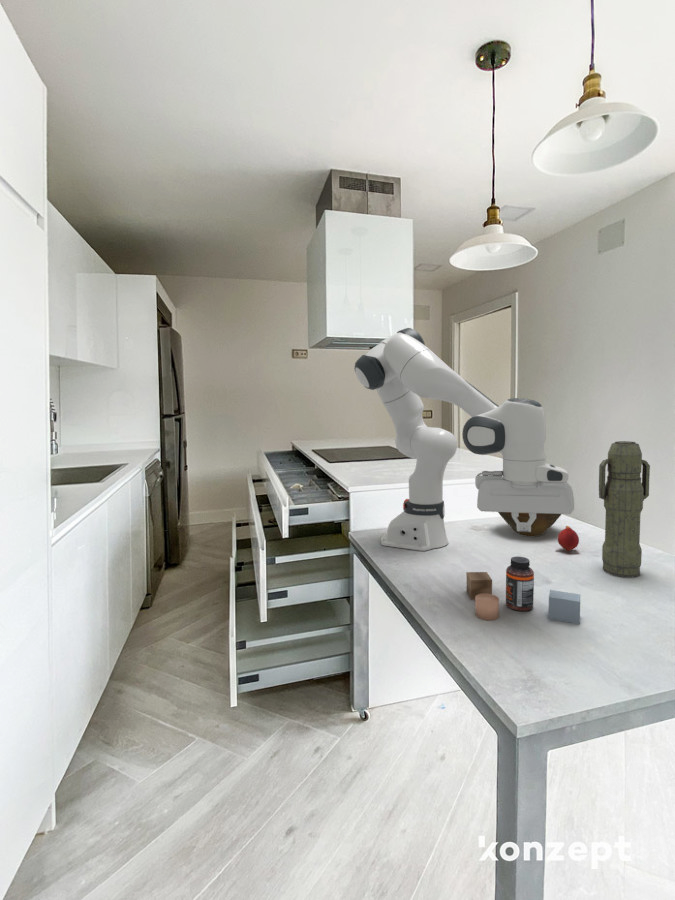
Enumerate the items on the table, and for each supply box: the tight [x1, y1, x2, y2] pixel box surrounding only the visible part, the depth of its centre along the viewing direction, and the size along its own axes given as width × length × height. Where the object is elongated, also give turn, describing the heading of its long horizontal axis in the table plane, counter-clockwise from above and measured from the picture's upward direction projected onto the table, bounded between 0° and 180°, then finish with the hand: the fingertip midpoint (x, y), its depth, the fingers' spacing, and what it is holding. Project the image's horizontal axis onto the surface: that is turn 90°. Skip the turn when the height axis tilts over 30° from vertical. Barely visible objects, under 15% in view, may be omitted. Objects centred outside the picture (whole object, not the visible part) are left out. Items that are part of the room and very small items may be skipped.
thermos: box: [598, 440, 651, 578], centre depth 120 cm, size 9×12×35 cm
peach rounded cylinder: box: [474, 593, 500, 621], centre depth 101 cm, size 5×5×4 cm
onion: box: [557, 525, 580, 552], centre depth 139 cm, size 6×6×8 cm
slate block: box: [548, 589, 581, 625], centre depth 99 cm, size 6×4×5 cm, turn 61°
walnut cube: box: [465, 571, 493, 601], centre depth 111 cm, size 5×5×5 cm
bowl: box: [497, 512, 562, 537], centre depth 159 cm, size 22×23×10 cm
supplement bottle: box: [505, 555, 535, 612], centre depth 104 cm, size 6×6×11 cm
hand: (523, 531), depth 103 cm, fingers closed
